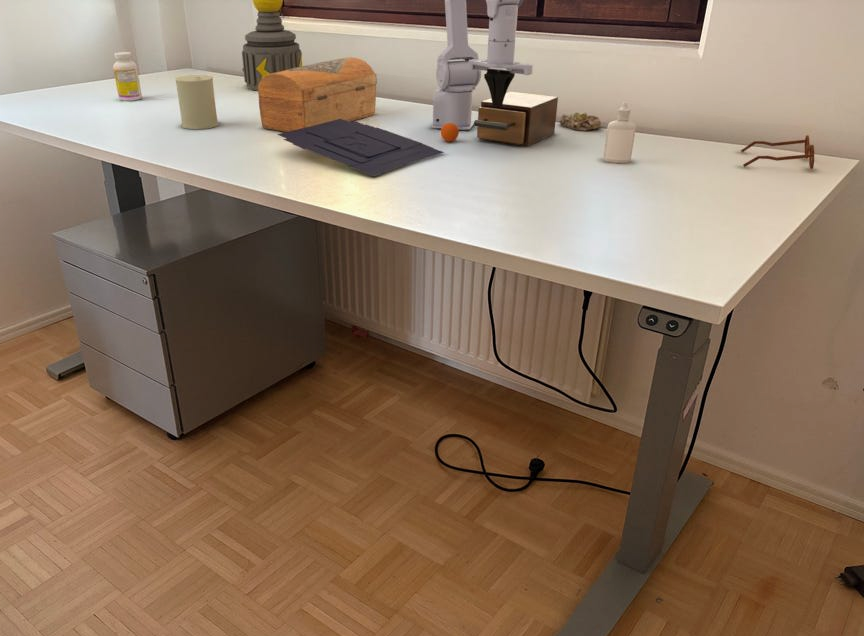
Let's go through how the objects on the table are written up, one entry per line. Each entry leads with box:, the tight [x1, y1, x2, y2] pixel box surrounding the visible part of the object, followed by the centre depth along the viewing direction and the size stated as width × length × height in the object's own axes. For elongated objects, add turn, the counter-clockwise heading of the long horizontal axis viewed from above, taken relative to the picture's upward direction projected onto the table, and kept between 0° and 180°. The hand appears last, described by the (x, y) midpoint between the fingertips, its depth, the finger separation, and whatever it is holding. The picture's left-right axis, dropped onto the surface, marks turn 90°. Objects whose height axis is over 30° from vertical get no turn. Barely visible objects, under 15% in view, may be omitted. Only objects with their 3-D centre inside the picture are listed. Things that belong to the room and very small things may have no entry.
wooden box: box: [257, 56, 378, 133], centre depth 190 cm, size 30×16×14 cm, turn 144°
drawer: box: [473, 106, 528, 144], centre depth 172 cm, size 18×11×7 cm, turn 145°
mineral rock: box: [559, 112, 602, 132], centre depth 185 cm, size 11×4×8 cm
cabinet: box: [478, 91, 559, 147], centre depth 175 cm, size 15×13×9 cm
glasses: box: [740, 134, 815, 170], centre depth 155 cm, size 13×13×5 cm
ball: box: [440, 123, 460, 143], centre depth 173 cm, size 4×4×4 cm
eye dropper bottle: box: [602, 101, 637, 164], centre depth 155 cm, size 4×6×12 cm
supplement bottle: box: [112, 51, 143, 102], centre depth 218 cm, size 7×7×13 cm
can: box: [174, 74, 219, 130], centre depth 187 cm, size 9×9×12 cm
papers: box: [276, 119, 445, 177], centre depth 163 cm, size 24×30×4 cm
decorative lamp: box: [241, 0, 303, 92], centre depth 230 cm, size 19×19×30 cm
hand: (497, 106), depth 165 cm, fingers closed
